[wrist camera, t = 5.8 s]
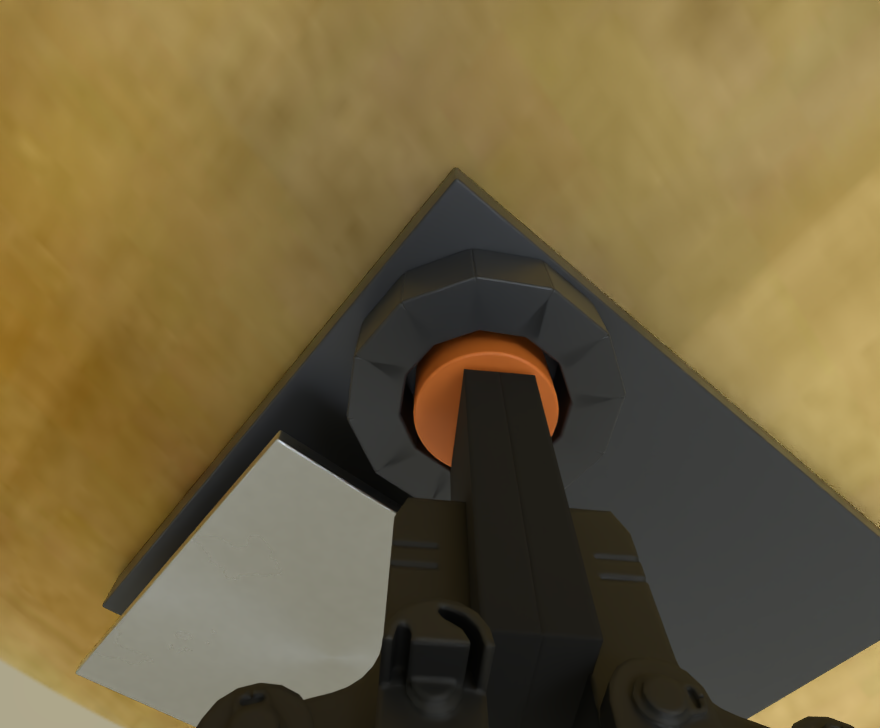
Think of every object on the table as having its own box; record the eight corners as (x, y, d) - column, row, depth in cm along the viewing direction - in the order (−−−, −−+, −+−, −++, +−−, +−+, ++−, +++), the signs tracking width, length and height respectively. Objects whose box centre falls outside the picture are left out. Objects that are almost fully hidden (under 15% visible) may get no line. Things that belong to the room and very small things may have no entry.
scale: (117, 577, 21) (72, 657, 19) (455, 165, 15) (458, 198, 12) (557, 798, 27) (569, 881, 25) (926, 569, 21) (996, 648, 19)
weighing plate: (81, 661, 19) (74, 673, 18) (280, 428, 15) (276, 438, 15) (372, 792, 22) (371, 805, 22) (597, 628, 18) (600, 640, 18)
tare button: (389, 385, 16) (383, 425, 14) (475, 291, 15) (479, 323, 13) (487, 453, 17) (492, 497, 15) (574, 369, 16) (590, 408, 14)
